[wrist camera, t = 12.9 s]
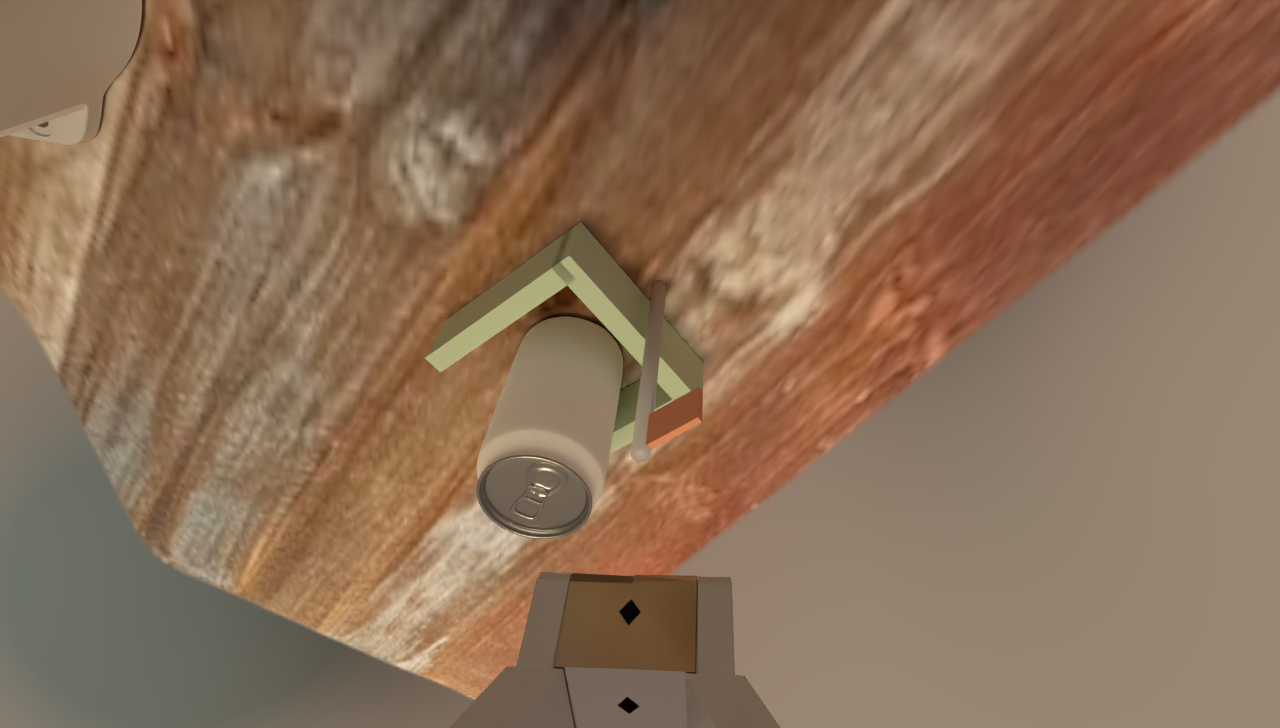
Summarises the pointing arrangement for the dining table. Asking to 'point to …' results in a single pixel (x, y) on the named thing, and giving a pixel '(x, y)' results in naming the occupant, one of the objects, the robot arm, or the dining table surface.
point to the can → (552, 430)
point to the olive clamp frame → (580, 262)
